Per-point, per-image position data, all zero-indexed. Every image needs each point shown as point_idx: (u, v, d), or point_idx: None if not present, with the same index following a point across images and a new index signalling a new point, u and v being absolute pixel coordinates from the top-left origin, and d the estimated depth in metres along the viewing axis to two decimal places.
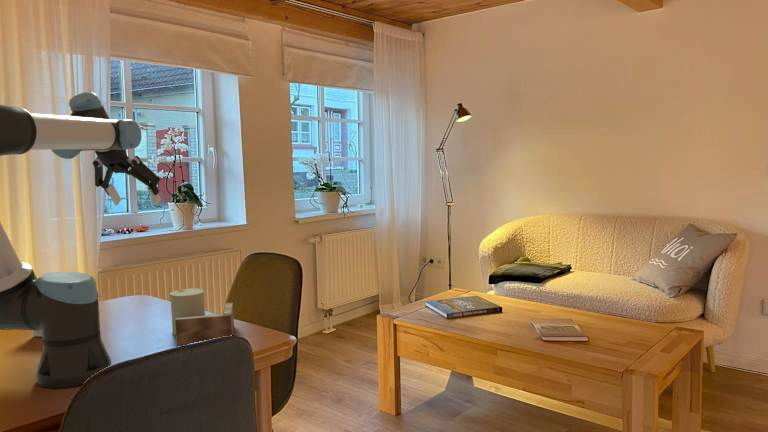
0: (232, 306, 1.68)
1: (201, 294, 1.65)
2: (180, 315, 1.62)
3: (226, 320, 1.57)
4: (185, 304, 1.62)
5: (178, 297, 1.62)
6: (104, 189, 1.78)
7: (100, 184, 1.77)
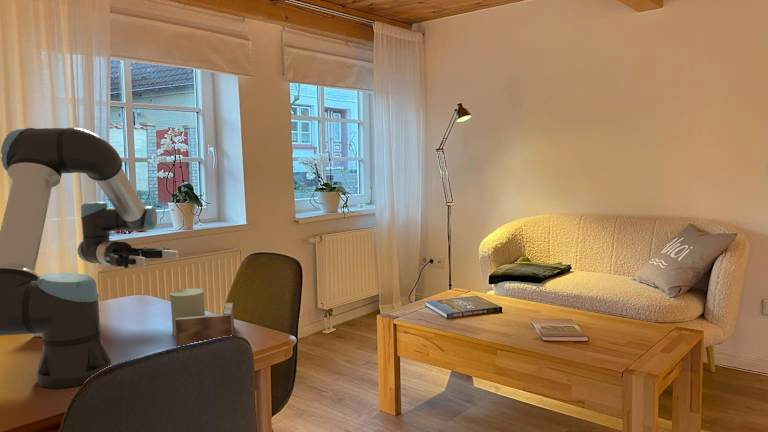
0: (232, 306, 1.68)
1: (201, 294, 1.65)
2: (180, 315, 1.62)
3: (226, 320, 1.57)
4: (185, 304, 1.62)
5: (178, 297, 1.62)
6: (126, 258, 1.68)
7: (121, 258, 1.69)
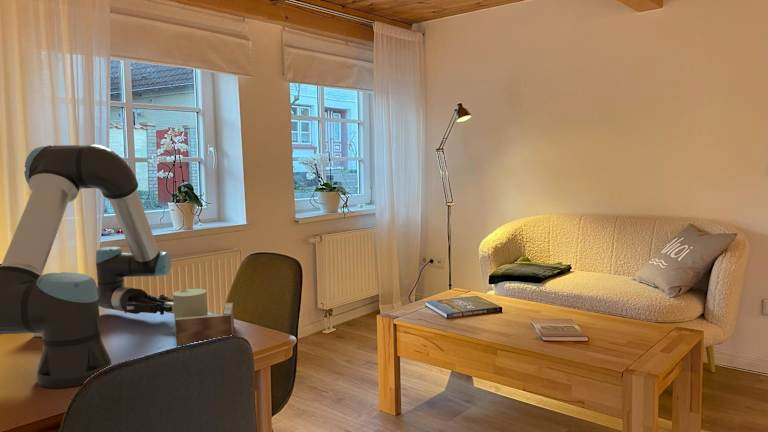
0: (232, 306, 1.68)
1: (204, 294, 1.64)
2: (183, 315, 1.62)
3: (226, 320, 1.57)
4: (188, 304, 1.61)
5: (181, 297, 1.61)
6: (162, 306, 1.70)
7: (157, 305, 1.71)
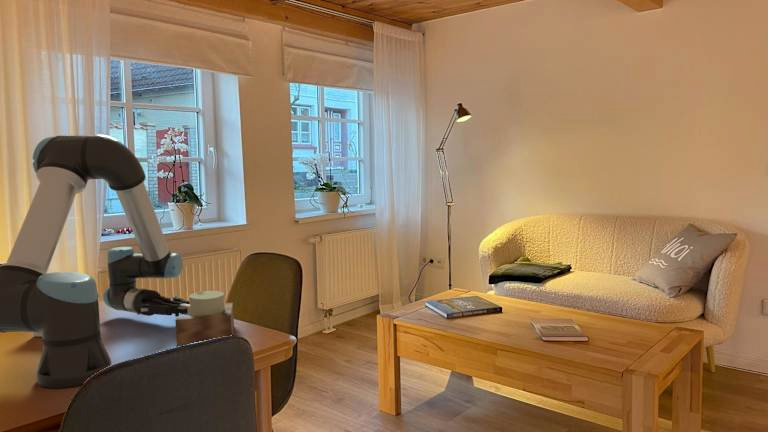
0: (232, 306, 1.68)
1: (221, 297, 1.60)
2: None
3: (226, 320, 1.57)
4: (206, 307, 1.57)
5: (198, 300, 1.57)
6: (178, 307, 1.66)
7: (172, 307, 1.67)
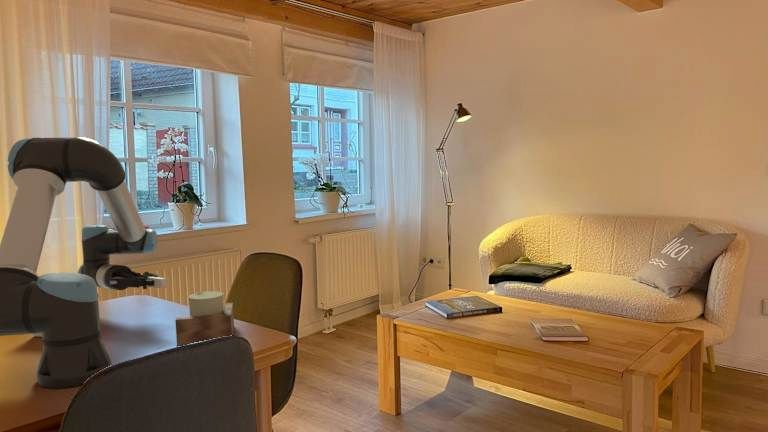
0: (232, 306, 1.68)
1: (220, 297, 1.61)
2: None
3: (226, 320, 1.57)
4: (205, 307, 1.58)
5: (197, 300, 1.57)
6: (145, 280, 1.71)
7: (140, 279, 1.72)
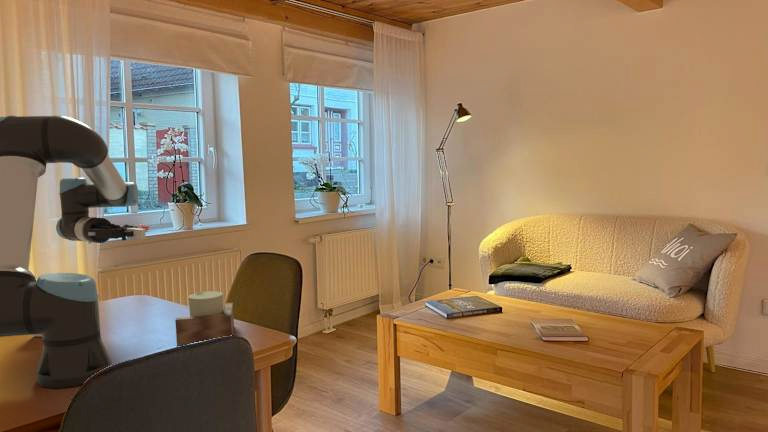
0: (232, 306, 1.68)
1: (220, 297, 1.61)
2: None
3: (226, 320, 1.57)
4: (205, 307, 1.58)
5: (197, 300, 1.57)
6: (124, 231, 1.67)
7: (119, 230, 1.68)
